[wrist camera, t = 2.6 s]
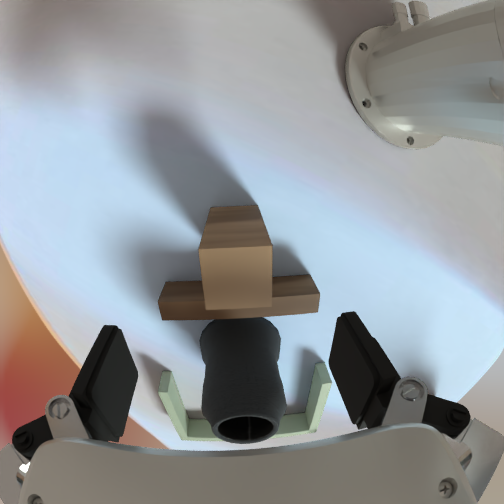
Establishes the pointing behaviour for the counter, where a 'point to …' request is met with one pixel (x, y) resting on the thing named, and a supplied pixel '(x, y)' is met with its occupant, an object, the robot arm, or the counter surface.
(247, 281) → the wooden cross block
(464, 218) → the counter surface
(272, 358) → the mug
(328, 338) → the counter surface
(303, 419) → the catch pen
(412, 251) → the counter surface
